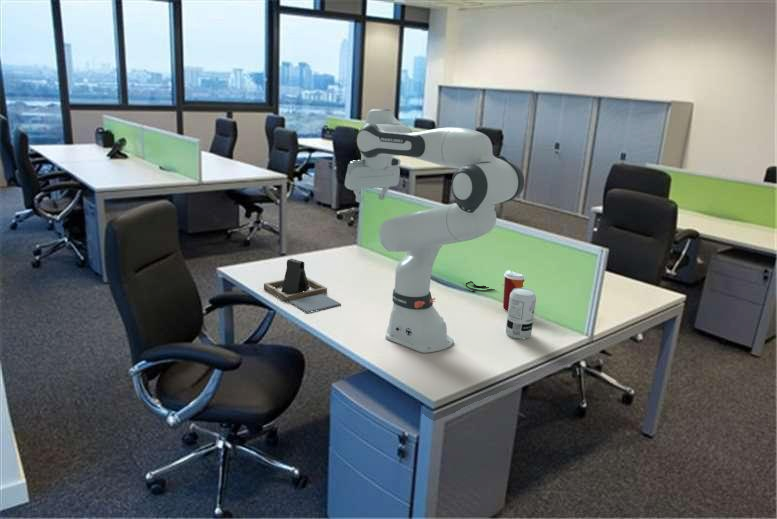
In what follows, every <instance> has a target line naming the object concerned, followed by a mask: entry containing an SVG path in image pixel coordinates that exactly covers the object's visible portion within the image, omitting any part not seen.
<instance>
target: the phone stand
mask: <svg viewBox="0 0 777 519" xmlns="http://www.w3.org/2000/svg"><path fill="white" fill-rule="evenodd" d="M306 277H307V274H306V270H305V262H304V261H302V260H297V259H293V258H289V259H288V258H287V261H286V269H285V274H284V278H283V280H284V282H283V286H281V287H282V288H281V290H280V291H281V292H283V293H285V294H286V293H287V294H286V295H290V294H295V293H300V292H303V291H304V292H305V291H306V290H307V291H309V290H310V286H309V285H308V282H307V278H308V277H307V278H306ZM308 289H309V290H308Z"/></svg>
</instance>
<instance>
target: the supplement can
mask: <svg viewBox="0 0 777 519" xmlns="http://www.w3.org/2000/svg"><path fill="white" fill-rule="evenodd" d="M536 300H537V296H536V294H535V291H533V290H531V289H529V288H524V287H523V288H515V289H513V291H512V292H511V293H510V299H509V307H508V311H507V316H506V325H505V333H506V334H507V336H508V335H509V337H510V336H511V337H510V338H512V337H514V338H513V339H515V338H520V339H519V340H524V339H523V338H527V339H529V338H530V337H531V336H532V331H533V324H534V315H535V309H536V303H537V302H536Z"/></svg>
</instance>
